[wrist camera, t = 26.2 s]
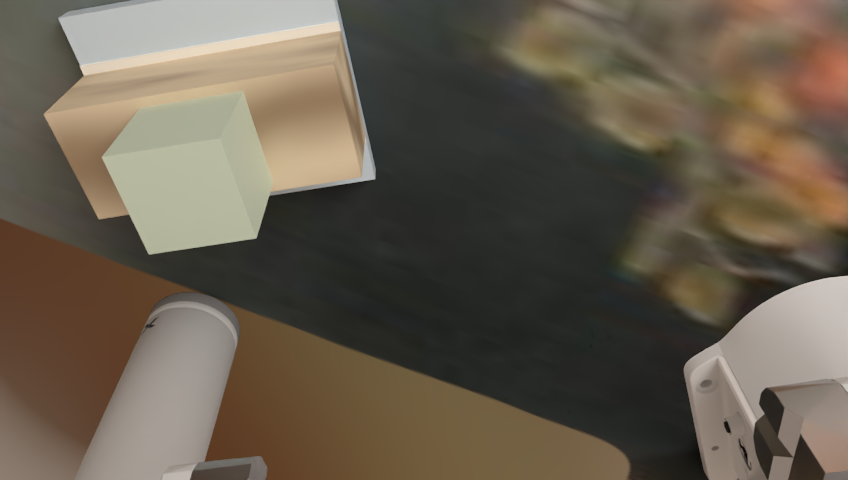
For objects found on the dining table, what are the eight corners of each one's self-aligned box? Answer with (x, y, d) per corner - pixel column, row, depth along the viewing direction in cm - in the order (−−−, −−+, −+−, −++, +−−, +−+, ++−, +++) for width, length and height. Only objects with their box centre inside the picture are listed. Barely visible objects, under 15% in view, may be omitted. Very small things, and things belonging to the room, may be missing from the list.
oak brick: (365, 134, 38) (361, 177, 34) (130, 172, 39) (98, 219, 35) (341, 30, 35) (333, 64, 31) (84, 75, 36) (43, 114, 31)
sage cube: (273, 182, 34) (256, 238, 30) (178, 197, 34) (148, 254, 30) (243, 91, 31) (219, 138, 27) (140, 108, 31) (101, 157, 27)
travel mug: (133, 294, 46) (-14, 583, 29) (229, 286, 46) (135, 572, 29) (160, 359, 49) (42, 650, 33) (249, 352, 49) (175, 640, 33)
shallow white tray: (375, 169, 41) (375, 180, 40) (155, 204, 42) (149, 215, 41) (329, -35, 34) (327, -29, 33) (67, 11, 35) (57, 19, 34)
